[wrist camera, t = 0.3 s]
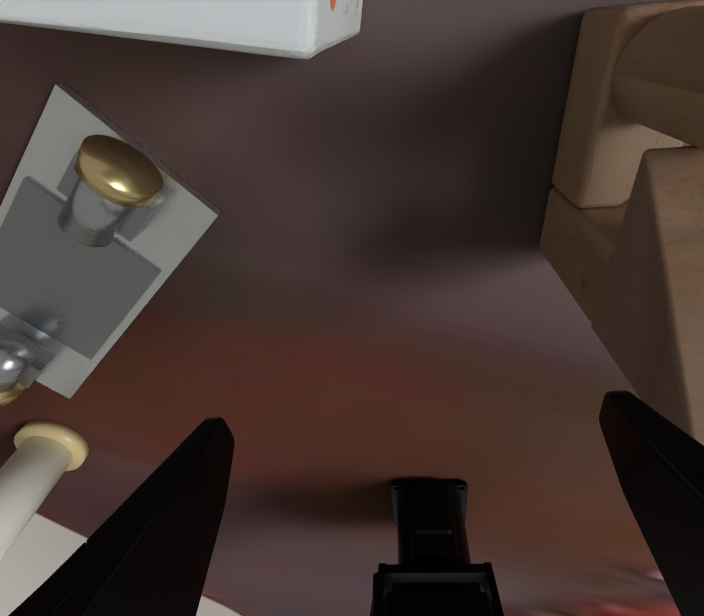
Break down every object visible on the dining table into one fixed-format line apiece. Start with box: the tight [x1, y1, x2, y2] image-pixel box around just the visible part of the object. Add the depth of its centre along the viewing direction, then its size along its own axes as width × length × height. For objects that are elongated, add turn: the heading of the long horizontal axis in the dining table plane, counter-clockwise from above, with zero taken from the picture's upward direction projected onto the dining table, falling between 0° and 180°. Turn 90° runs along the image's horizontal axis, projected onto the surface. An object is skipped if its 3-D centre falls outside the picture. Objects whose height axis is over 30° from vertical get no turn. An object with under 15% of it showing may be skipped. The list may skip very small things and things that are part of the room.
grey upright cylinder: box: [0, 420, 89, 561], centre depth 31 cm, size 6×6×12 cm
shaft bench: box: [0, 83, 222, 406], centre depth 24 cm, size 21×9×4 cm, turn 136°
